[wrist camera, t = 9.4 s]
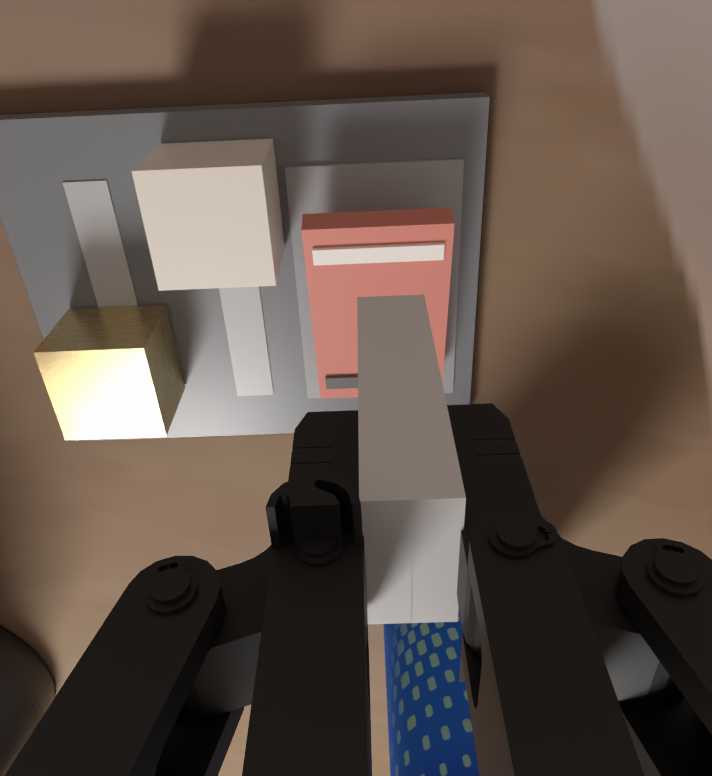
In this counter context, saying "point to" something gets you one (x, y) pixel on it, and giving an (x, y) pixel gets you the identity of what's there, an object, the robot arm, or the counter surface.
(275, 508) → the robot arm
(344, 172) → the panel
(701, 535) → the counter surface
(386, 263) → the block
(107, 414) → the brass slider
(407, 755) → the beer can
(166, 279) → the ivory slider
